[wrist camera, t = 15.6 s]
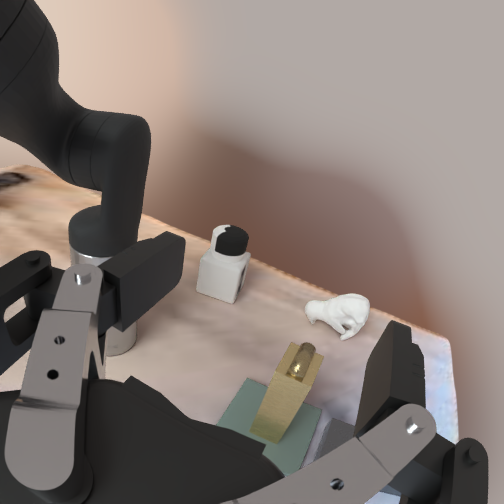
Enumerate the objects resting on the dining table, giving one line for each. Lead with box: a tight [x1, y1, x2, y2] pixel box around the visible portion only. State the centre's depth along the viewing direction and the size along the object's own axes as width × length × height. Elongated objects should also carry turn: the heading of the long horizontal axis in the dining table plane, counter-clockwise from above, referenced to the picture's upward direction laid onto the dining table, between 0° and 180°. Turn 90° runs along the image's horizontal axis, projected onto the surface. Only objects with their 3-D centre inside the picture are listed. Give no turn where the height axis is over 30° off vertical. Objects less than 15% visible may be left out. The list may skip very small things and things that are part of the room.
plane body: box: [313, 418, 401, 496], centre depth 34 cm, size 18×8×2 cm, turn 66°
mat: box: [216, 378, 322, 476], centre depth 38 cm, size 12×12×1 cm
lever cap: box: [249, 342, 324, 444], centre depth 35 cm, size 4×5×14 cm
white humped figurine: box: [305, 294, 370, 340], centre depth 59 cm, size 6×8×12 cm
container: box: [196, 225, 251, 304], centre depth 61 cm, size 8×8×13 cm
